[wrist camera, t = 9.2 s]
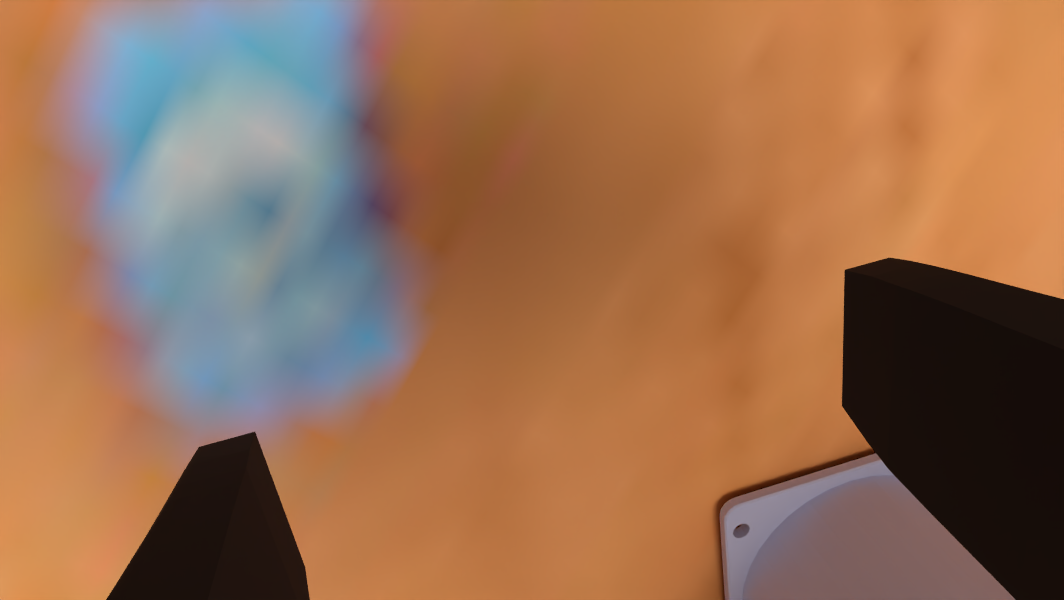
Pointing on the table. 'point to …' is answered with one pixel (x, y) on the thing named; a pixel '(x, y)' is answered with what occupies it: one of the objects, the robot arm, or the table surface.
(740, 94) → the table surface
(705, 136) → the table surface
